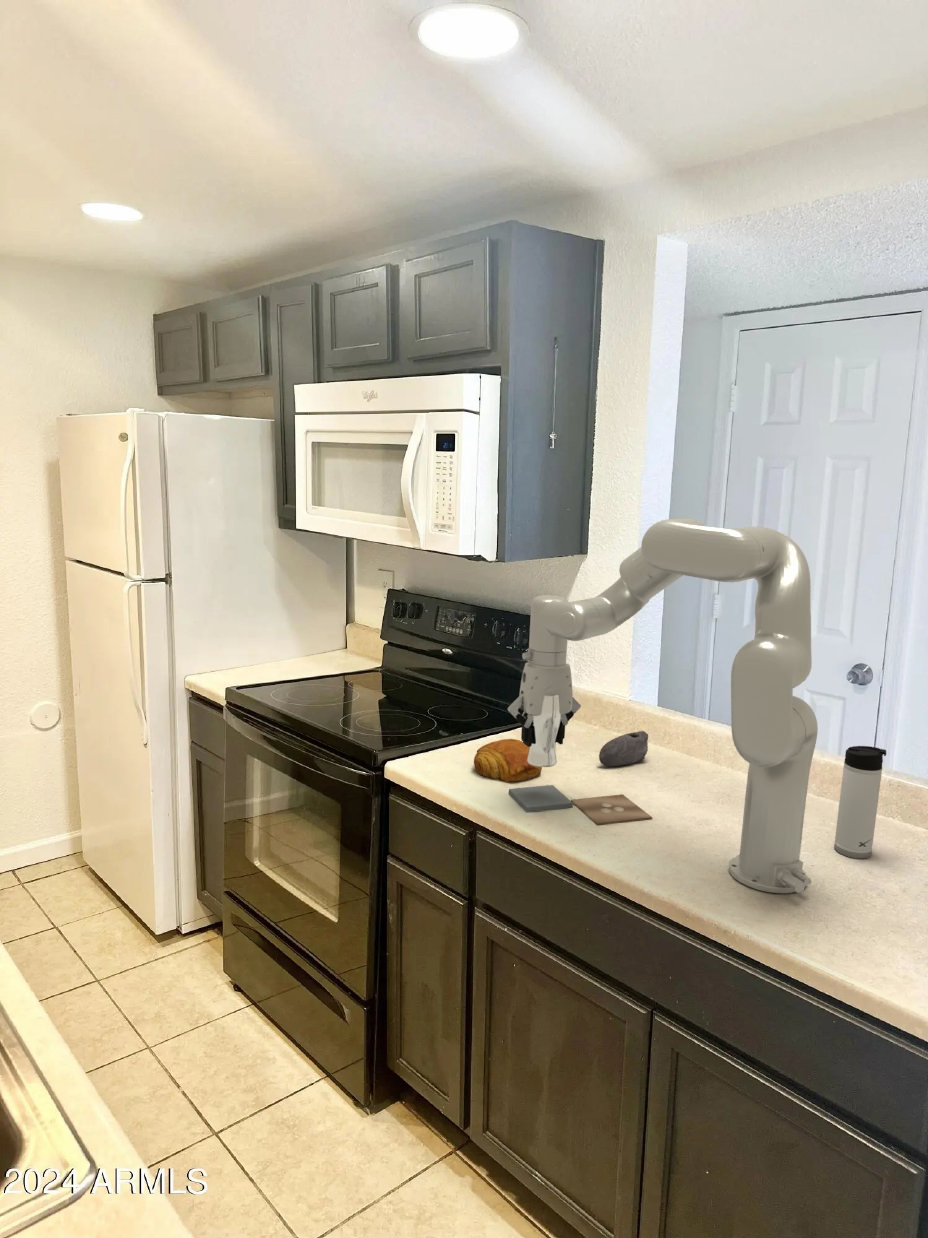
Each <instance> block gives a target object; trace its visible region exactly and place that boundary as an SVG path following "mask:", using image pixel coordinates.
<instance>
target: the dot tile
mask: <svg viewBox="0 0 928 1238" xmlns="http://www.w3.org/2000/svg"><path fill="white" fill-rule="evenodd" d="M570 801H571V802H572V803H573V805H574V806H575V807H576V808H578V810H580V811H581V813H583V814H584V815H585V816H586V817H587V818H588V819H590V820H591V821H592V822H593V823H594V824H595V825H597V826H602V825H603V826H604V825H610V824H620V823H629V822H638V821H639V822H640V821H646V820H647V821H648V820H653V817H652V816H651V815H650V814H649V813H647V812H646V811H645V810H643V809H642V808H641V807H640V806H638V804H636V803H635V802H633V801H632V800H630V799H629V798H628V797H627V796H626V795H624V794H614V795H613V794H612V795H611V794H610V795H603V796H593V797H592V796H591V797H584V798H583V797H582V798H574V799H572V798H571V799H570Z"/></svg>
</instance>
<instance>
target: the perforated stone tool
mask: <svg viewBox="0 0 928 1238" xmlns="http://www.w3.org/2000/svg"><path fill="white" fill-rule="evenodd" d="M648 740H649V733H647V732H646V731H644V730H641V731H640V730H639V731H636V732H634V731H633V732H630V733H629V732H628V733H625V734H622V735H620V736H617V737H615V738H612V739H610V740H609V741H608V742H606V743H605V744H603V746H602V747H601V749H600V751H599V755H598V759H599V762H600V764H602V765H603V766H605V767H617V766H625V765H632V764H635V763H638V762H639V761H643V760H645V759H646V757H645V756H646V755H647V753H648V752H649V750H648V749H649V746H648Z"/></svg>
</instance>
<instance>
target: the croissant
mask: <svg viewBox="0 0 928 1238" xmlns="http://www.w3.org/2000/svg"><path fill="white" fill-rule="evenodd" d="M528 752H529V747H528V746H526V745H525V744H524V743H523V741H522V740H521V739H516V738H515V739H514V738H505V739H503V738H502V739H500V740H499V739H498V740H495V741H491V742H489V743H486V744H484V745H482V746H481V747H479V748H478V749H477V750H476V754H475V755H474V758H473V765H474V766H473V767H474V769H475V770H476V772H477V774H479V775H481V776H484V777H488V778H492V779H494V780H500V781H501V782H504V783H509V782H521V781H527V780H530V779H533V778H535V777H537V775H539V774H540V773H542V771H543V770H542V769H543V767H537V766H533V765H530V764H529V763H528V762H527V756H528Z"/></svg>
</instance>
